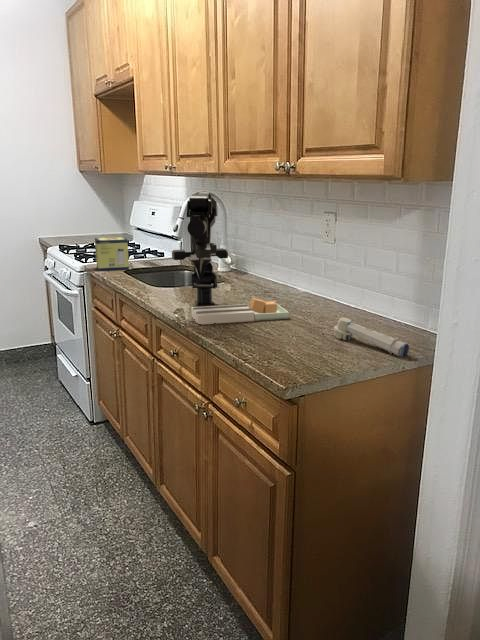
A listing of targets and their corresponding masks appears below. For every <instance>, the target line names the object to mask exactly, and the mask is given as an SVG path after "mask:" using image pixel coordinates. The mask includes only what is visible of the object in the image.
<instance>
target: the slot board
mask: <svg viewBox="0 0 480 640" xmlns="http://www.w3.org/2000/svg"><path fill="white" fill-rule="evenodd" d="M248 306H249V305H248V304H245V303H244V304H243V303H242V304H224V305H222V304H221V305H203V306H193V307H191V317H192V318H193V320H194V319H195V320H194V321H195V322H196V324H197V323H198V324H201V325H214V323H216V324H227V323H228V324H229V323H244V322H255V320H254V311H252V308H249V307H248ZM198 324H197V325H198Z"/></svg>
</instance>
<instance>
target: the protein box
mask: <svg viewBox="0 0 480 640" xmlns="http://www.w3.org/2000/svg"><path fill="white" fill-rule="evenodd" d="M128 243H129V242H128V239H127V238H126V237H125V236H119V237H117V236H116V237H95V238H94V246H95V258H96V259H95V261H96V269H97V271H98V272H111V271H112V272H114V271H128V270H130V266H129V265H130V261H129V246H128V245H129V244H128Z"/></svg>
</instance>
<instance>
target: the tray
mask: <svg viewBox="0 0 480 640" xmlns="http://www.w3.org/2000/svg"><path fill="white" fill-rule="evenodd" d="M276 304H277V313H264V314H263V313H258V312H254V322H257V321H275V320H286V319H287V320H289V319H290V312H289V311H288V310H287V309H285V308H284V307H283V306H281V305H279V304H278V303H276ZM247 306H248V307H249V306H250V305H247Z"/></svg>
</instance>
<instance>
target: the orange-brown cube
mask: <svg viewBox="0 0 480 640" xmlns="http://www.w3.org/2000/svg"><path fill="white" fill-rule="evenodd" d="M266 302H267V301H265V300H263V299H261V298H260V299H259V298H256V297H251V299H250V303H249V305H248V306H249V308H252V311H254V312H258V313H263V310H264V307H265V303H266Z"/></svg>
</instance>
